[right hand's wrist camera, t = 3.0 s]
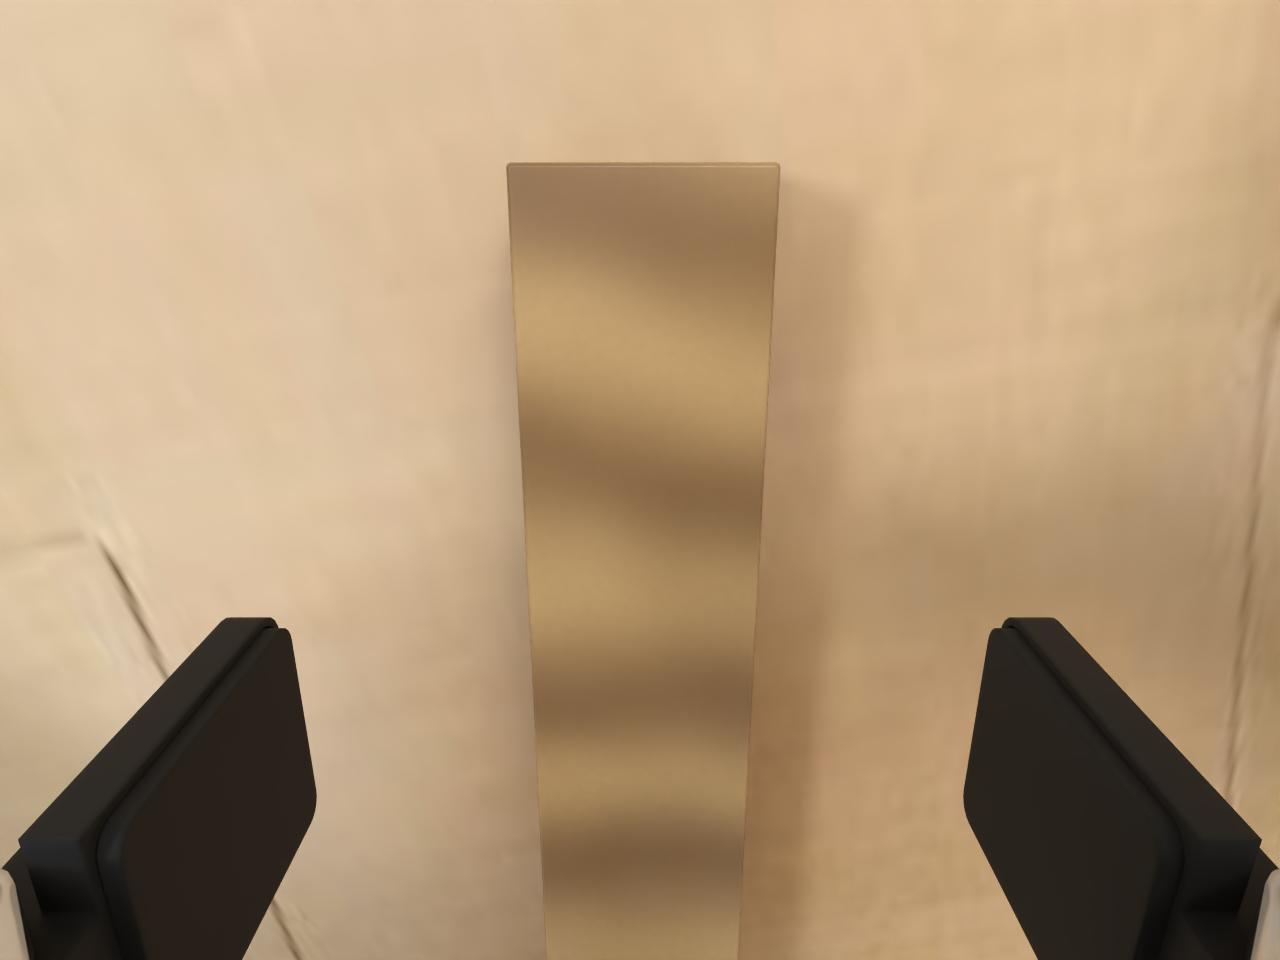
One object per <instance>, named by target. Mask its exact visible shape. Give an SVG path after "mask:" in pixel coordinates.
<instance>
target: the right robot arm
mask: <svg viewBox="0 0 1280 960" xmlns="http://www.w3.org/2000/svg"><path fill="white" fill-rule="evenodd" d="M316 798H317V795H316V786H315V780H314V774H313V768H312V761H311V755H310V749H309V743H308V737H307V731H306V725H305V718H304V712H303V706H302V700H301V694H300V688H299V681H298V675H297V669H296V663H295V657H294V651H293V645H292V639H291V635H290V633H289V631H288V630H287V629H285V628H278V625H277V624H276V622H275V620H274V619H272V618H225V619H224V620H223V621H221V622H220V623H219V624H218V626H217V627H216V628H215V629H214V630H213V631H212V632H211V633H210V634H209V635H208V636H207V637H206V638H205V639H204V641H203V642H202V643H201V644H200V645H199V646H198V647H197V648H196V649H195V650H194V651H193V652H192V653H191V655H190V656H189V657H188V658H187V659H186V660H185V661H184V662H183V663H182V664H181V665H180V666H179V667H178V668H177V670H176V671H175V672H174V673H173V674H172V675H171V676H170V677H169V678H168V679H167V680H166V681H165V682H164V684H163V685H162V686H161V687H160V688H159V689H158V690H157V691H156V692H155V693H154V694H153V695H152V696H151V697H150V699H149V700H148V701H147V702H146V703H145V704H144V705H143V706H142V707H141V708H140V709H139V710H138V711H137V713H136V714H135V715H134V716H133V717H132V718H131V719H130V720H129V721H128V722H127V723H126V724H125V725H124V726H123V728H122V729H121V730H120V731H119V732H118V733H117V734H116V735H115V736H114V737H113V738H112V739H111V740H110V742H109V743H108V744H107V745H106V746H105V747H104V748H103V749H102V750H101V751H100V752H99V753H98V754H97V755H96V757H95V758H94V759H93V760H92V761H91V762H90V763H89V764H88V765H87V766H86V767H85V768H84V769H83V771H82V772H81V773H80V774H79V775H78V776H77V777H76V778H75V779H74V780H73V781H72V782H71V783H70V784H69V786H68V787H67V788H66V789H65V790H64V791H63V792H62V793H61V794H60V795H59V796H58V797H57V798H56V800H55V801H54V802H53V803H52V804H51V805H50V806H49V807H48V808H47V809H46V810H45V811H44V812H43V813H42V815H41V816H40V817H39V818H38V819H37V820H36V821H35V822H34V823H33V824H32V825H31V826H30V827H29V828H28V830H27V831H26V832H25V833H24V834H23V835H22V836H21V837H20V838H19V839H18V841H19V844H20V847H21V848H20V849H19V850H18V851H17V852H16V853H15V854H14V855H13V856H12V858H11V859H10V860H9V861H8V862H7V863H6V864H5V865H4V866H3V867H2V868H0V960H242V959H243V957H244V955H245V953H246V951H247V949H248V947H249V945H250V943H251V941H252V939H253V937H254V935H255V933H256V931H257V929H258V927H259V925H260V923H261V921H262V919H263V917H264V915H265V913H266V911H267V909H268V907H269V905H270V903H271V901H272V899H273V897H274V895H275V893H276V891H277V889H278V887H279V885H280V883H281V881H282V879H283V877H284V875H285V874H286V872H287V870H288V868H289V866H290V864H291V862H292V860H293V858H294V856H295V854H296V852H297V850H298V848H299V846H300V844H301V842H302V840H303V838H304V836H305V834H306V832H307V830H308V828H309V826H310V824H311V822H312V819H313V817H314V813H315V808H316ZM963 798H964V808H965V813H966V817H967V819H968V822H969V824H970V826H971V828H972V830H973V832H974V834H975V836H976V838H977V840H978V842H979V844H980V846H981V848H982V850H983V852H984V854H985V856H986V858H987V860H988V862H989V864H990V866H991V868H992V870H993V872H994V874H995V875H996V877H997V879H998V881H999V883H1000V885H1001V887H1002V889H1003V891H1004V893H1005V895H1006V897H1007V899H1008V901H1009V903H1010V905H1011V907H1012V909H1013V911H1014V913H1015V915H1016V917H1017V919H1018V921H1019V923H1020V925H1021V927H1022V929H1023V931H1024V933H1025V935H1026V937H1027V939H1028V941H1029V943H1030V945H1031V947H1032V949H1033V951H1034V953H1035V955H1036V957H1037V959H1038V960H1280V868H1278V867H1277V866H1276V865H1275V864H1274V863H1273V862H1272V861H1271V860H1270V859H1269V858H1268V856H1267V855H1266V854H1265V853H1264V852H1263V851H1262V850H1261V849H1260V848H1259V847H1260V844H1261V841H1262V839H1261V838H1260V837H1259V836H1258V835H1257V834H1256V833H1255V832H1254V831H1253V830H1252V828H1251V827H1250V826H1249V825H1248V824H1247V823H1246V822H1245V821H1244V820H1243V819H1242V818H1241V817H1240V816H1239V815H1238V813H1237V812H1236V811H1235V810H1234V809H1233V808H1232V807H1231V806H1230V805H1229V804H1228V803H1227V802H1226V801H1225V800H1224V798H1223V797H1222V796H1221V795H1220V794H1219V793H1218V792H1217V791H1216V790H1215V789H1214V788H1213V787H1212V786H1211V784H1210V783H1209V782H1208V781H1207V780H1206V779H1205V778H1204V777H1203V776H1202V775H1201V774H1200V773H1199V772H1198V771H1197V769H1196V768H1195V767H1194V766H1193V765H1192V764H1191V763H1190V762H1189V761H1188V760H1187V759H1186V758H1185V757H1184V755H1183V754H1182V753H1181V752H1180V751H1179V750H1178V749H1177V748H1176V747H1175V746H1174V745H1173V744H1172V743H1171V742H1170V740H1169V739H1168V738H1167V737H1166V736H1165V735H1164V734H1163V733H1162V732H1161V731H1160V730H1159V729H1158V728H1157V726H1156V725H1155V724H1154V723H1153V722H1152V721H1151V720H1150V719H1149V718H1148V717H1147V716H1146V715H1145V714H1144V713H1143V711H1142V710H1141V709H1140V708H1139V707H1138V706H1137V705H1136V704H1135V703H1134V702H1133V701H1132V700H1131V699H1130V697H1129V696H1128V695H1127V694H1126V693H1125V692H1124V691H1123V690H1122V689H1121V688H1120V687H1119V686H1118V685H1117V684H1116V682H1115V681H1114V680H1113V679H1112V678H1111V677H1110V676H1109V675H1108V674H1107V673H1106V672H1105V671H1104V670H1103V668H1102V667H1101V666H1100V665H1099V664H1098V663H1097V662H1096V661H1095V660H1094V659H1093V658H1092V657H1091V656H1090V655H1089V653H1088V652H1087V651H1086V650H1085V649H1084V648H1083V647H1082V646H1081V645H1080V644H1079V643H1078V642H1077V641H1076V639H1075V638H1074V637H1073V636H1072V635H1071V634H1070V633H1069V632H1068V631H1067V630H1066V629H1065V628H1064V627H1063V626H1062V624H1061V623H1060V622H1059V621H1057V620H1056V619H1055V618H1008V619H1006V620H1005V622H1004V624H1003V625H1002V628H995V629H993V630H992V631H991V633H990V635H989V639H988V645H987V651H986V657H985V663H984V669H983V675H982V681H981V688H980V694H979V700H978V706H977V712H976V718H975V725H974V731H973V737H972V743H971V749H970V755H969V761H968V768H967V774H966V780H965V786H964V795H963Z"/></svg>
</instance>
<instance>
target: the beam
mask: <svg viewBox="0 0 1280 960" xmlns="http://www.w3.org/2000/svg"><path fill="white" fill-rule="evenodd" d="M506 171H507V190H508V210H509V229H510V249H511V269H512V288H513V308H514V327H515V347H516V366H517V386H518V406H519V425H520V445H521V464H522V484H523V503H524V523H525V543H526V562H527V582H528V601H529V621H530V640H531V660H532V680H533V699H534V719H535V738H536V758H537V777H538V797H539V816H540V836H541V856H542V875H543V895H544V914H545V934H546V953H547V960H738V947H739V928H740V910H741V891H742V873H743V854H744V835H745V817H746V798H747V779H748V761H749V742H750V724H751V705H752V686H753V668H754V649H755V630H756V612H757V593H758V574H759V556H760V537H761V519H762V500H763V481H764V463H765V444H766V425H767V407H768V388H769V370H770V351H771V332H772V314H773V295H774V276H775V258H776V239H777V220H778V202H779V183H780V165H779V164H778V163H509V164H507V167H506Z"/></svg>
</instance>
